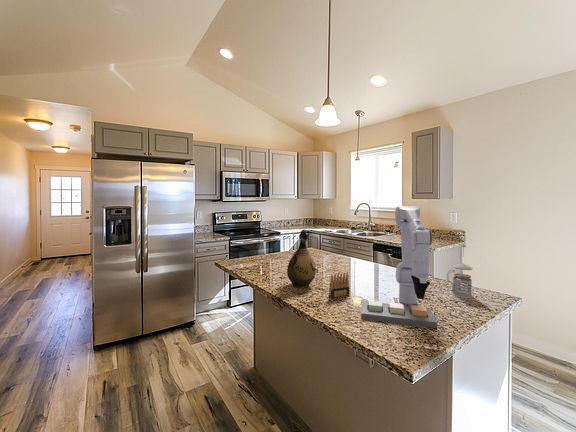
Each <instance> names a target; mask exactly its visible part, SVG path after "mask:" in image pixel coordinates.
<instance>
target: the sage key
mask: <svg viewBox="0 0 576 432" xmlns="http://www.w3.org/2000/svg"><path fill="white" fill-rule="evenodd" d="M368 301H369V310H371V311H379V312H382V303H383V302H382V301H380V300H379V301H378V300H368Z"/></svg>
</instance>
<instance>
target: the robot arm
mask: <svg viewBox="0 0 576 432" xmlns="http://www.w3.org/2000/svg"><path fill="white" fill-rule="evenodd" d="M394 216H395V219H394V220H395V225H396V226H398V227H399V231H400V242H401V262H399V263H398V264H397V265H396V268H395V281H396V282H397V284H399V285H398V287H399V288H398V297H396V299H397V300H398V301H399V303H400V304H403V305H408V306H411V305H416V304H417V299H418V300H424V298H425V296H426V293H427V292H426V291H427V289H428V287H429V285H430V283H431V281H430V280H428V278H429V277H432V276H433V273H431V272H429V270H430V248H431V247H430V246H431V245H432V244H433V233H432V230H431V229H428V228H426V226H425V224H424V222H423V221H422V220H421V219H420V217H421V208H420V207H419V205H418V206H416V205H415V206H413V205H412V206H409V205H408V206H400V205H397V206H396V207H395V210H394Z"/></svg>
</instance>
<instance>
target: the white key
mask: <svg viewBox="0 0 576 432" xmlns="http://www.w3.org/2000/svg"><path fill="white" fill-rule="evenodd" d="M388 304H389V311H390V313H397V314H404V306H403V305H404V304H403V303H396V302H389V303H388Z"/></svg>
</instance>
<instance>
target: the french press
mask: <svg viewBox="0 0 576 432" xmlns="http://www.w3.org/2000/svg"><path fill="white" fill-rule="evenodd" d="M461 247H462V248H463V249H462V256H464V253H465V252H464V251H465V250H464V249H465V248H467V245H466V244H464V243H463V244H462V245H461ZM453 268H454V269H453ZM453 268H452V269H449V271H447V273H446V280H447V281H448V283H450V284H451V285H452V289H451V290H452V291H450V292H449V294H450V295H451V296H452V297H456V298H460V297H461V299H473V298H474V296H473V294H472V281H473V280H472V279H471V278H472V276H471V275H469V274H465V273H464V271H472V270H473V269H474V268H473V267H471V266H470V265H468V264H466V263H458V264H455V265H453ZM455 269H456V270H461V272H462V273H456V270H455ZM452 272H453V273H454V274H453V277H452V282H450V278H449V277H450V273H452ZM472 297H473V298H472Z"/></svg>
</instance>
